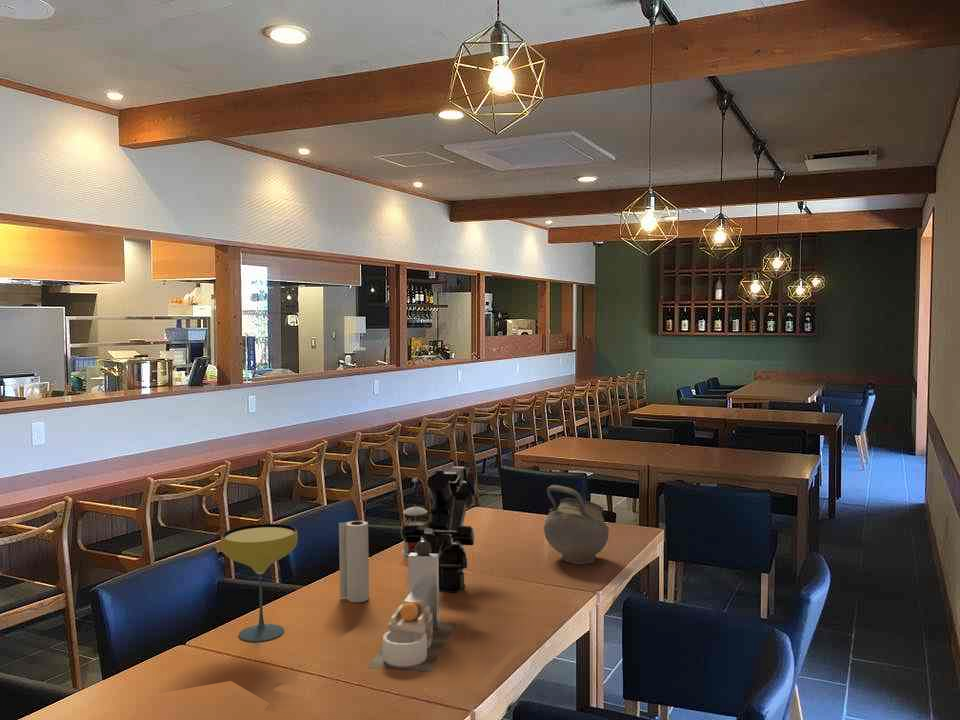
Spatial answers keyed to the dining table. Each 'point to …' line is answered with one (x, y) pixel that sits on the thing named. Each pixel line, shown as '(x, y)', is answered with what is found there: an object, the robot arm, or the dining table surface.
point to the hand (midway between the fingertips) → (433, 563)
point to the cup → (404, 648)
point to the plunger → (424, 580)
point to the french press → (413, 512)
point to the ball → (409, 611)
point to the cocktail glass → (259, 563)
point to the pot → (575, 527)
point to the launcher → (418, 625)
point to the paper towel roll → (354, 561)
